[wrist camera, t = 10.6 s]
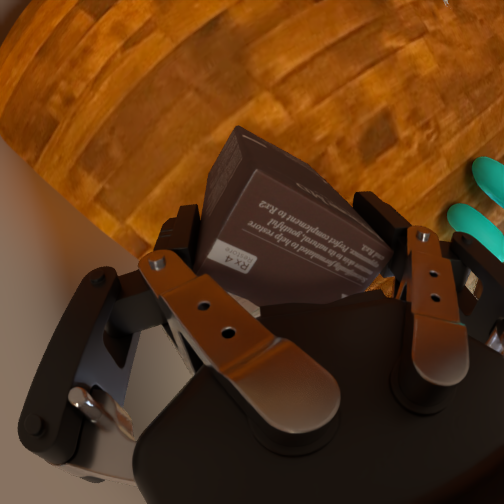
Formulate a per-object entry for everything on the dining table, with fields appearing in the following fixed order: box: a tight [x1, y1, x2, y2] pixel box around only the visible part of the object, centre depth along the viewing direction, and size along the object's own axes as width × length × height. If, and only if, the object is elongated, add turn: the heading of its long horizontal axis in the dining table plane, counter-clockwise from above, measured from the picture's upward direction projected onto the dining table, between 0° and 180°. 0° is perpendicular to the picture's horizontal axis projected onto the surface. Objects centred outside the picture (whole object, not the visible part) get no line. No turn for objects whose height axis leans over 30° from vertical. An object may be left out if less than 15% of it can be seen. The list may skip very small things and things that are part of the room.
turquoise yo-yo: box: [447, 157, 504, 262], centre depth 24 cm, size 10×10×10 cm
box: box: [192, 126, 394, 308], centre depth 14 cm, size 6×4×12 cm
